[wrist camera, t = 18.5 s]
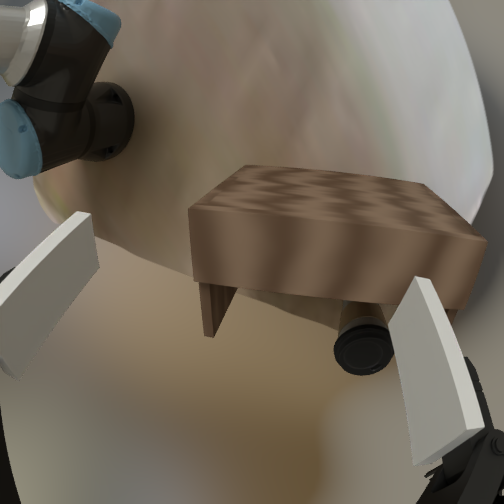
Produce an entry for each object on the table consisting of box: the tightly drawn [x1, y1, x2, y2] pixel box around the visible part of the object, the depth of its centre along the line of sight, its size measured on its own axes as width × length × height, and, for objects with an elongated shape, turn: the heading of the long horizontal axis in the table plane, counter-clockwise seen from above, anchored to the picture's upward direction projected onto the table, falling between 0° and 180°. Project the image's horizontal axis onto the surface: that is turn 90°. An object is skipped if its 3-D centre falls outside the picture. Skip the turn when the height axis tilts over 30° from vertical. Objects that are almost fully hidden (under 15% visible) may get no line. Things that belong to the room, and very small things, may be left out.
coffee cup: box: [334, 300, 394, 376], centre depth 46 cm, size 9×9×15 cm
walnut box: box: [188, 165, 488, 338], centre depth 38 cm, size 28×16×22 cm, turn 89°
